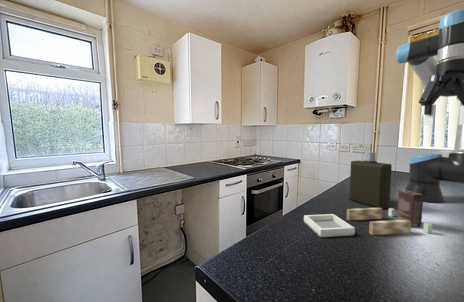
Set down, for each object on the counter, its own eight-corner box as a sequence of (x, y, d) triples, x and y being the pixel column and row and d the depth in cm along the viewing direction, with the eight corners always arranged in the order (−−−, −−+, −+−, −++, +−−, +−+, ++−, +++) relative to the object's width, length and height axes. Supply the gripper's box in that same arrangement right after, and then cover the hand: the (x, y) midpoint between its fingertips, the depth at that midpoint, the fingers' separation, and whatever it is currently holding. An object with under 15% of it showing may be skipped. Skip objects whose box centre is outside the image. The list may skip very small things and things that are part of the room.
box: (422, 226, 74) (424, 194, 73) (410, 227, 73) (412, 194, 72) (406, 219, 80) (408, 189, 79) (395, 220, 79) (397, 190, 78)
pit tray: (333, 220, 80) (333, 213, 80) (354, 235, 68) (354, 227, 68) (303, 221, 79) (304, 215, 78) (320, 237, 67) (320, 229, 67)
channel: (378, 217, 83) (379, 207, 82) (410, 232, 69) (411, 221, 69) (346, 218, 81) (346, 209, 81) (372, 235, 68) (373, 223, 68)
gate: (391, 215, 84) (391, 208, 84) (431, 233, 69) (432, 224, 69) (388, 215, 84) (388, 208, 84) (427, 233, 69) (428, 224, 69)
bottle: (381, 210, 90) (385, 153, 88) (346, 200, 104) (349, 151, 102) (391, 207, 93) (394, 153, 91) (356, 197, 108) (358, 150, 105)
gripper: (470, 65, 74) (465, 125, 75) (407, 63, 71) (404, 125, 73) (499, 58, 66) (492, 124, 68) (431, 55, 64) (425, 124, 65)
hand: (446, 124), depth 70 cm, fingers open, 13 cm apart
